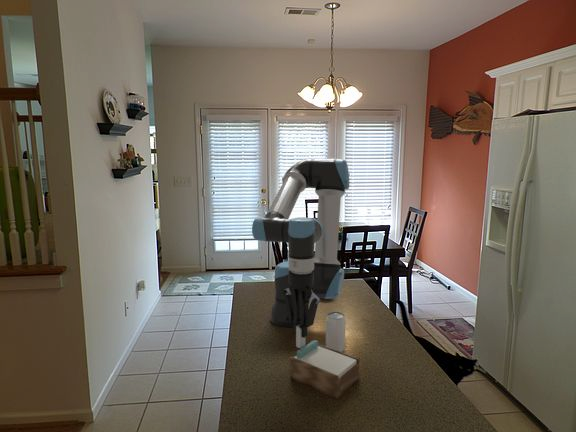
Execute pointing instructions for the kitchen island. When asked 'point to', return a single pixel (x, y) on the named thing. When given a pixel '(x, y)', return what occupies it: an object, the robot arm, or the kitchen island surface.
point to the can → (335, 331)
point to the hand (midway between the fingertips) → (300, 345)
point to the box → (324, 376)
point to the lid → (325, 359)
